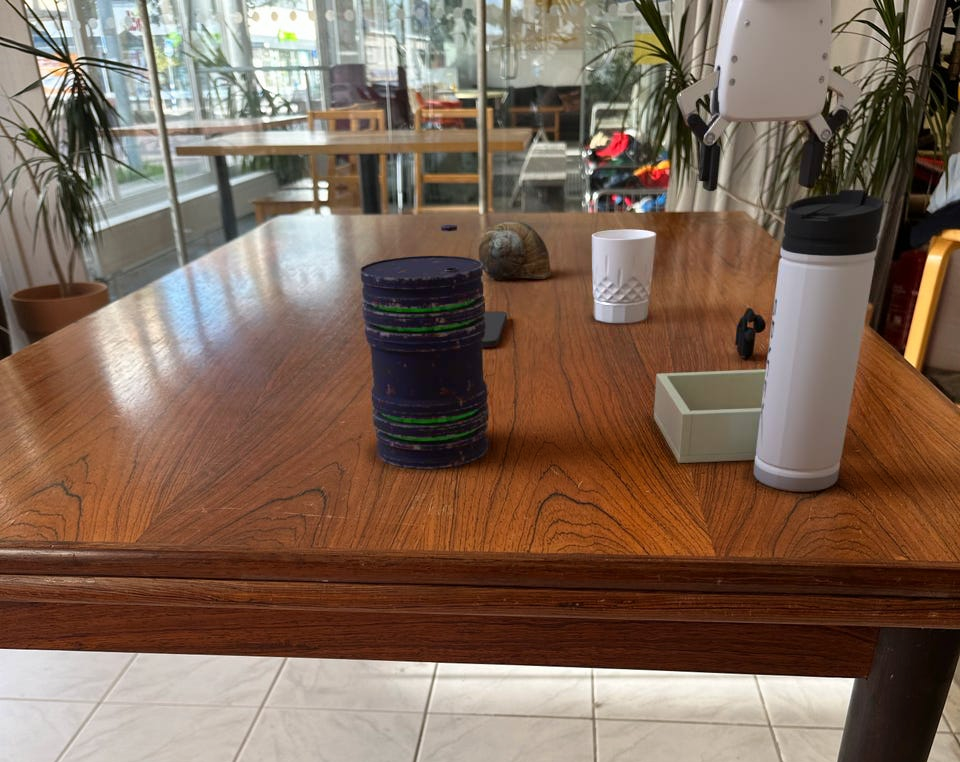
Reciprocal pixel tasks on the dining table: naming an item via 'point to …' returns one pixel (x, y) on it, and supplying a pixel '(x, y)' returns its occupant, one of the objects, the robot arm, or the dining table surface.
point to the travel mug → (816, 338)
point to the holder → (710, 414)
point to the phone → (493, 327)
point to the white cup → (622, 274)
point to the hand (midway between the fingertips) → (757, 188)
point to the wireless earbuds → (748, 333)
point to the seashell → (514, 252)
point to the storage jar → (427, 359)
